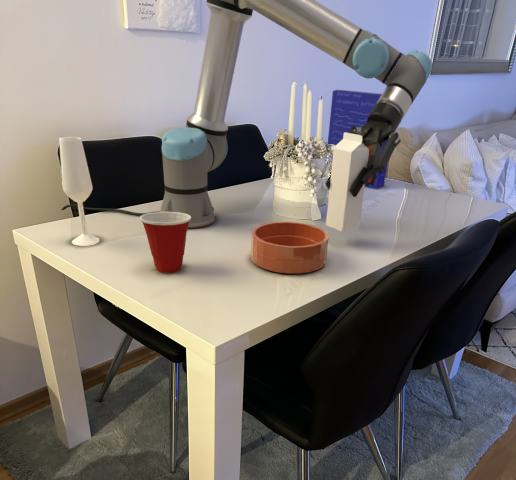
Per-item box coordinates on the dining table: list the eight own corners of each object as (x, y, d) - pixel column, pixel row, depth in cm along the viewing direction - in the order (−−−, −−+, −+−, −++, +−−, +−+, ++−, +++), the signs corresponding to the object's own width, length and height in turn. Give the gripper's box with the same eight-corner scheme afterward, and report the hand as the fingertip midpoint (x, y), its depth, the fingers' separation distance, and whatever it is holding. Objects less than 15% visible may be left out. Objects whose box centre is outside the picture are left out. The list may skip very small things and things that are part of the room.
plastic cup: (194, 259, 118) (193, 208, 112) (191, 278, 109) (189, 223, 102) (148, 258, 117) (143, 207, 111) (140, 277, 108) (135, 222, 102)
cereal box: (383, 185, 184) (398, 94, 168) (376, 188, 180) (390, 95, 164) (332, 175, 195) (341, 89, 179) (324, 178, 191) (332, 90, 175)
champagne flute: (97, 235, 129) (83, 135, 117) (102, 243, 124) (88, 140, 112) (70, 238, 127) (52, 136, 114) (73, 247, 122) (56, 141, 109)
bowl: (258, 276, 110) (259, 248, 107) (246, 248, 125) (246, 222, 122) (335, 273, 113) (338, 246, 110) (314, 245, 128) (316, 220, 125)
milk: (342, 232, 124) (353, 137, 113) (325, 225, 129) (334, 133, 117) (359, 227, 128) (371, 134, 116) (342, 221, 132) (352, 130, 120)
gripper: (428, 128, 120) (378, 208, 119) (360, 118, 132) (315, 191, 130) (421, 105, 114) (369, 189, 113) (351, 96, 126) (303, 173, 124)
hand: (340, 190), depth 122 cm, fingers closed on milk, 7 cm apart
